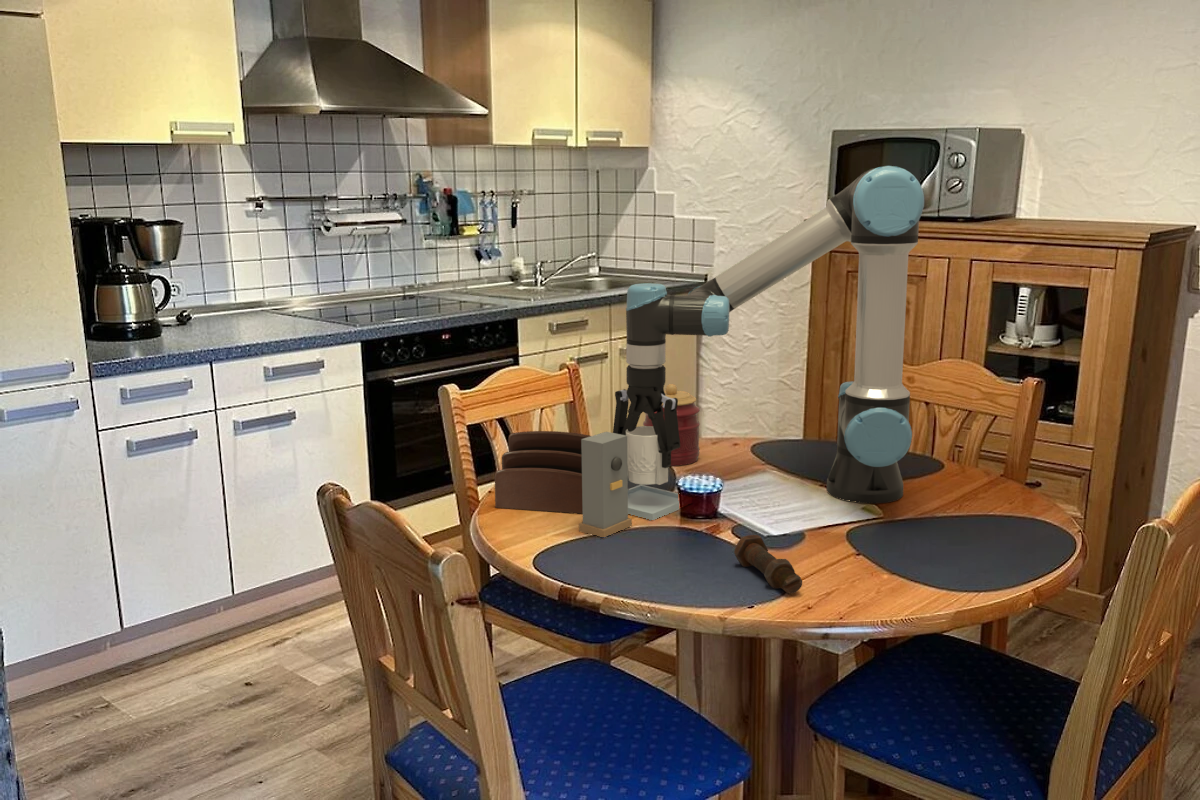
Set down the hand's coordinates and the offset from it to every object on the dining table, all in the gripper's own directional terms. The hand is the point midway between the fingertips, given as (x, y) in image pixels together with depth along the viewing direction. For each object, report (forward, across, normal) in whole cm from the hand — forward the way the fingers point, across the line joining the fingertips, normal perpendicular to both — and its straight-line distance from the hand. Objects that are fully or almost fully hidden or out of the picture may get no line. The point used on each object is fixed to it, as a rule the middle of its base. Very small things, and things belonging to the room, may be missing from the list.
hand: (645, 478), depth 196 cm
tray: (+5, 0, 0) cm, 5 cm away
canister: (+6, +16, -30) cm, 35 cm away
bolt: (+6, -38, +17) cm, 42 cm away
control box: (+6, -3, +15) cm, 17 cm away
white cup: (0, 0, 0) cm, 0 cm away
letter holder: (+6, +16, +11) cm, 20 cm away
